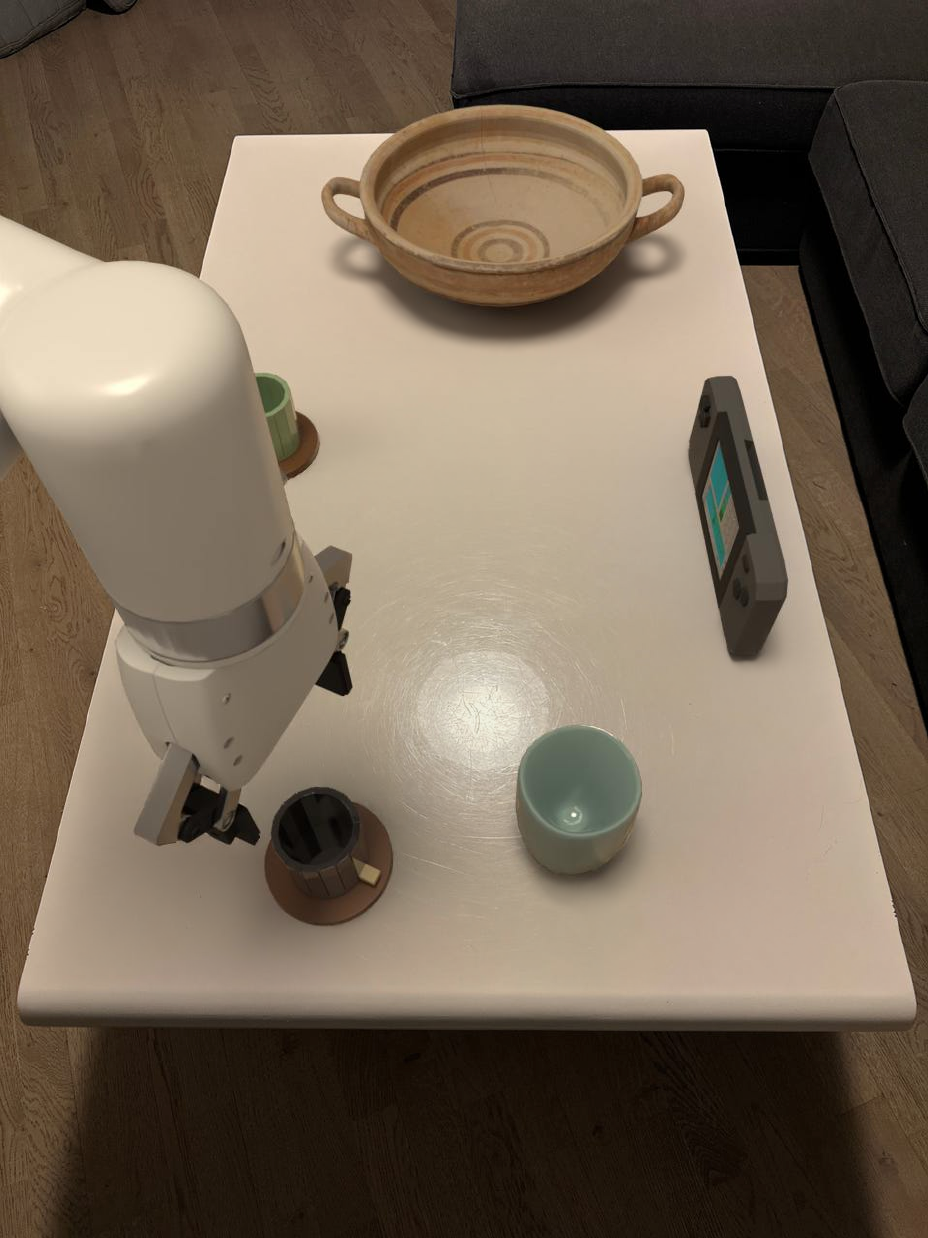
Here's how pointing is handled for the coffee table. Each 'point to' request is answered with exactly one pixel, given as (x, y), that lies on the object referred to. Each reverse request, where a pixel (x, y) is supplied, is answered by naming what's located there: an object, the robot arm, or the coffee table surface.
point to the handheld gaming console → (736, 518)
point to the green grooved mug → (279, 414)
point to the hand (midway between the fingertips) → (282, 753)
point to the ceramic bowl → (501, 203)
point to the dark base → (342, 906)
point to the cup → (576, 798)
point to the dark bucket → (322, 843)
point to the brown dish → (302, 448)
